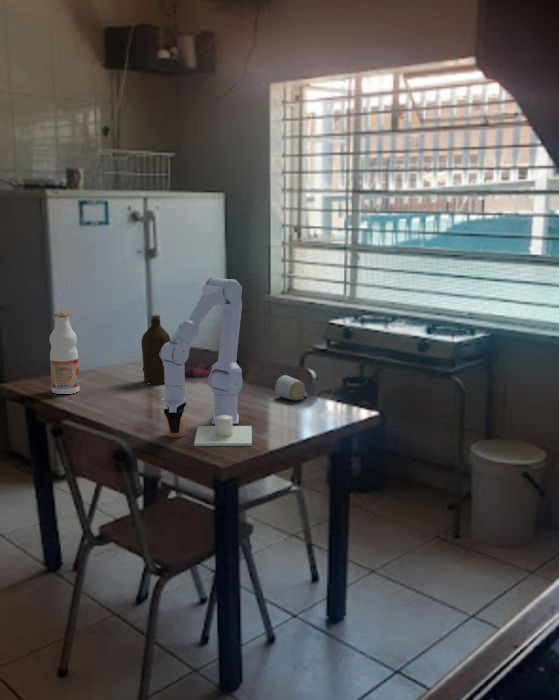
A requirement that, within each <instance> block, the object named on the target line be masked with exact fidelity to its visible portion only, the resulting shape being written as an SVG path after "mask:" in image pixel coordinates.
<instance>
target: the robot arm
mask: <svg viewBox="0 0 559 700" xmlns="http://www.w3.org/2000/svg"><path fill="white" fill-rule="evenodd" d="M201 291H202V294H201V296H200V298H199V299H198V302H197V304H196V305H195V306H194V309H193V311H192V312H191V314H190V316H189V318H188V319H185V320H183V321H182V322H180V323H179V324H178V328H177V329H176V330H175V333H174V334H173V335H172V337H170V342H167V343H165V344H164V345H163V347H162V348H161V352H160V353H159V355H160V358H161V359H162V361H163V366H164V376H165V384H164V397H161V398H160V402H161V403H165V405H166V407H167V408H164V409H163V413H164V416H166V420H167V419H168V423H169V427H170V431H171V433H178V432H179V428H180V420H181V416H183V414H184V412H185V407H186V405H187V399H186V386H185V385H186V383H185V382H186V378H185V373H186V371H185V369H186V367H185V363H186V362H187V360H188V359H189V357H190V351H191V347H192V344H193V343H194V341H195V340H196V338H197V337H198V335H199V333H200V324H201V323H202V322H203V321H204V319H205V318H206V317H207V316H208V314H209V313H210V312H211V310H212V309H213V307H215V306H217V305H219V306H220V307H221V308H222V310H223V311H222V322H221V327H220V328H221V330H220V340H219V349H218V359H217V361H216V362H215V363H213V364H212V365H211V371H210V373H209V375H208V377H207V378H208V380H207V383H208V386H209V387H210V388H211V389H212V390H211V392H213V414H212V415H213V416H212V422H211V423H212V425H215V417H216V416H220V415H229V416H232V417H233V425H238V424H239V423H240V422H239V420H240V419H239V418H240V414H239V413H238V395H239V394H240V391H241V390H242V388H243V385H244V384H243V381H244V380H243V376H242V375H243V374H242V373H243V372H242V371H243V370H242V368H241V367H240V366H239V364H238V363H237V356H238V355H237V354H238V346H239V337H240V329H241V319H242V310H243V302H242V295H243V286H242V285H241V284H240V282H239V281H238V280H237V279H236V278H235V279H234V278H233V279H231V278H230V279H229V278H221V277H216V276H211V277H209V278H208V279H207V280H206V281H205V284H204V285H203V287H202V289H201Z"/></svg>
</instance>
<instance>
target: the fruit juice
mask: <svg viewBox="0 0 559 700" xmlns="http://www.w3.org/2000/svg"><path fill="white" fill-rule="evenodd" d="M70 315H71V314H70V312H65V311H64V312H62V311H61V312H55V313H54V318H55V323H54V328H53V329H52V332H51V333H50V335H49V343H50V351H49V363H50V377H51V378H50V380H51V392H52V394H53V393H56V394H71V393H75V394H77V393H76V392H78V391H79V392H80V372H79V371H80V368H79V365H80V364H79V353H78V351H79V350H78V349H77V343H78V337H77V334H76V332H75V331H74V330H73V329H72V325H71V323H70V320H69V319H70ZM79 392H78V393H79ZM56 394H55V395H56ZM71 395H72V394H71Z"/></svg>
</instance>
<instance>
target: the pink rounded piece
mask: <svg viewBox="0 0 559 700" xmlns="http://www.w3.org/2000/svg"><path fill="white" fill-rule="evenodd" d="M166 436H167V437H169V438H180V437H183V436H185V417H184V415H182V416H181V420H180V428H179V432H178V433H171V431H170V427H169V423H168V419H167V418H166Z"/></svg>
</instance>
